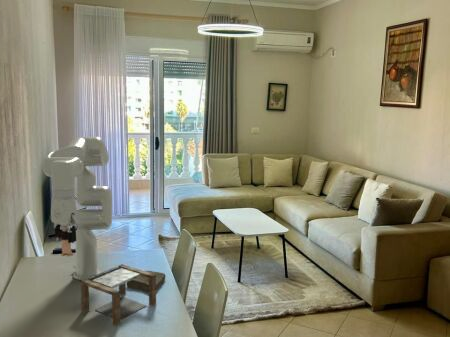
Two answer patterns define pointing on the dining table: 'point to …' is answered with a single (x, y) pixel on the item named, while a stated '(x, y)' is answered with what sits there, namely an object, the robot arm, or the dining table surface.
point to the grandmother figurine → (65, 241)
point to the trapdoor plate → (114, 277)
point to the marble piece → (146, 282)
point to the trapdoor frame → (118, 297)
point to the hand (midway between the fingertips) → (65, 239)
